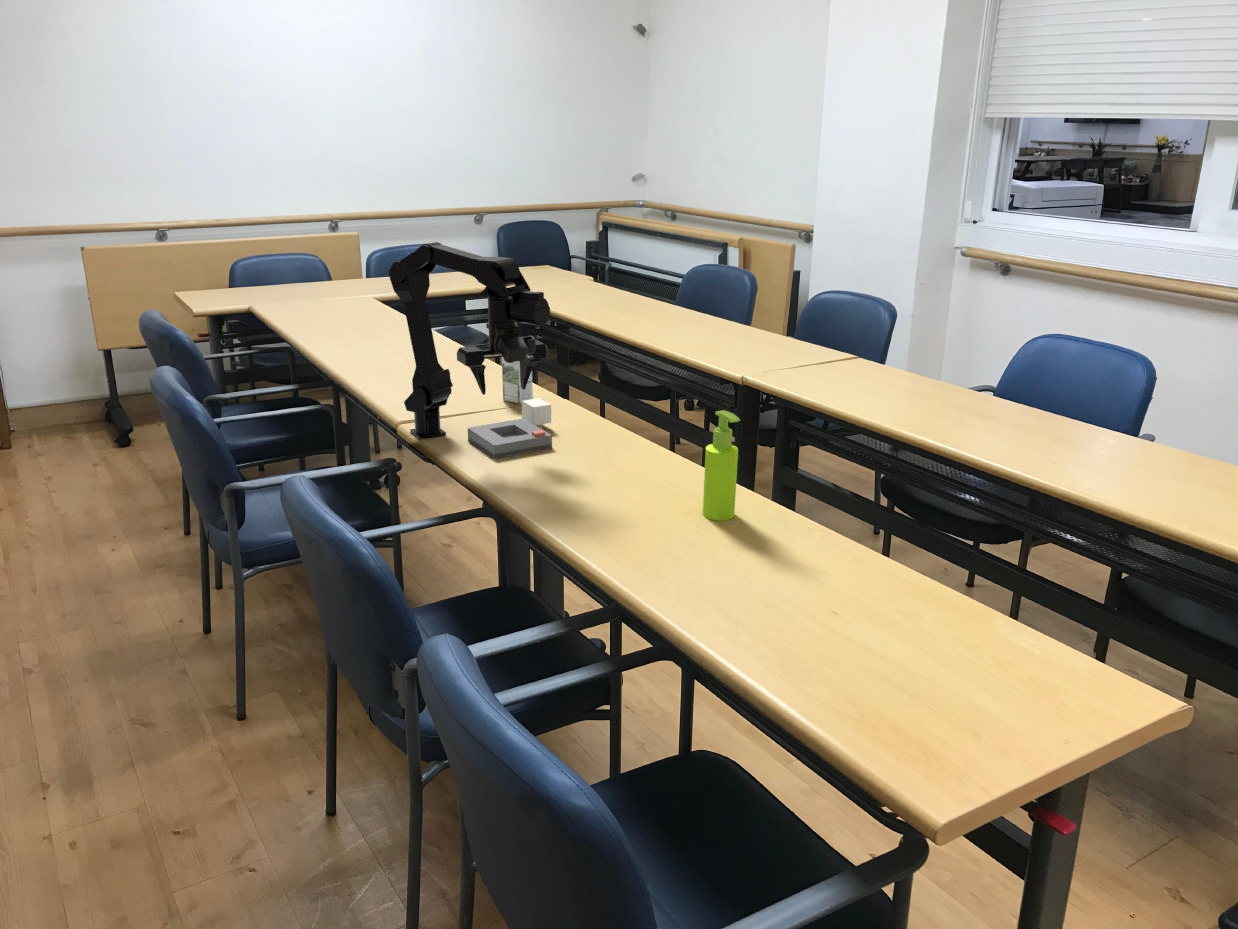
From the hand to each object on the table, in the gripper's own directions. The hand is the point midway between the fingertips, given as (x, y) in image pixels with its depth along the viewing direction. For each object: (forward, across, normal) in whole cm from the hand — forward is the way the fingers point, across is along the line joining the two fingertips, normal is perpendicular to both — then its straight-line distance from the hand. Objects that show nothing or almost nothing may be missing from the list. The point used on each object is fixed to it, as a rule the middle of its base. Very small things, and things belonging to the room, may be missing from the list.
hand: (503, 391), depth 204 cm
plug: (+14, +13, +12) cm, 22 cm away
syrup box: (+14, +18, +34) cm, 41 cm away
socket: (+14, +3, +4) cm, 14 cm away
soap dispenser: (+13, +21, -52) cm, 57 cm away
